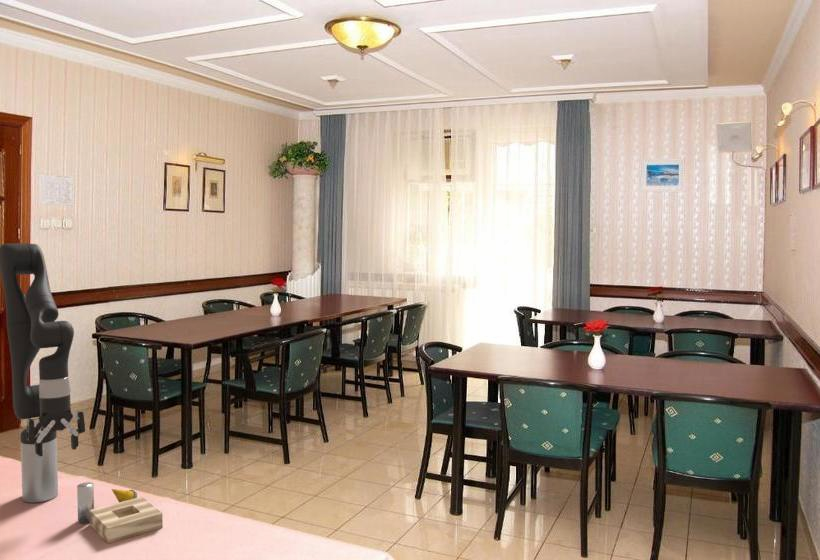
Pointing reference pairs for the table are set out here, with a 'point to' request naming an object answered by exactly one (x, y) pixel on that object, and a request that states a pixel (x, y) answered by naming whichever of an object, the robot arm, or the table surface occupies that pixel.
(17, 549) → the table surface
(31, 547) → the table surface
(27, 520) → the table surface
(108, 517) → the socket block
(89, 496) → the pin
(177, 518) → the table surface
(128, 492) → the drill bit
